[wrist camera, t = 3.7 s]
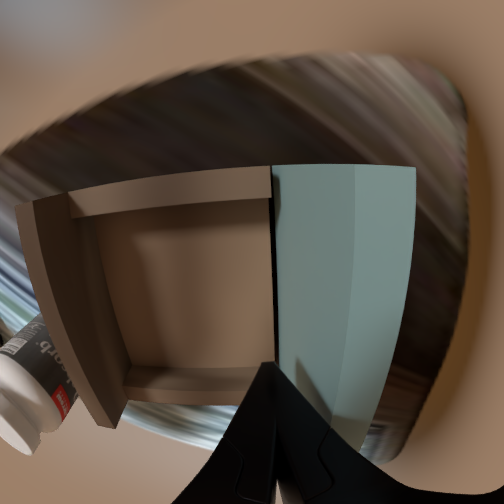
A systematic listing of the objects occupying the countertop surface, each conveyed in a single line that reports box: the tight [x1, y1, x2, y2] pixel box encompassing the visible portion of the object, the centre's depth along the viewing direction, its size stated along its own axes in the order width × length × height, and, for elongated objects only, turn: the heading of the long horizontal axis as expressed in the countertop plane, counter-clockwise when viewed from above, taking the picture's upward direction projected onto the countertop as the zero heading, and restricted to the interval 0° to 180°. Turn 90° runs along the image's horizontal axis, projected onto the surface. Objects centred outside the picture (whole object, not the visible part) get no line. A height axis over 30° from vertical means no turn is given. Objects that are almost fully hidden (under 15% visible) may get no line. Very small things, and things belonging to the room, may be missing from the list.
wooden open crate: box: [15, 166, 275, 429], centre depth 12 cm, size 10×12×6 cm
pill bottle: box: [0, 313, 79, 455], centre depth 12 cm, size 6×6×10 cm
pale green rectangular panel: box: [272, 164, 416, 453], centre depth 10 cm, size 1×12×9 cm, turn 3°
